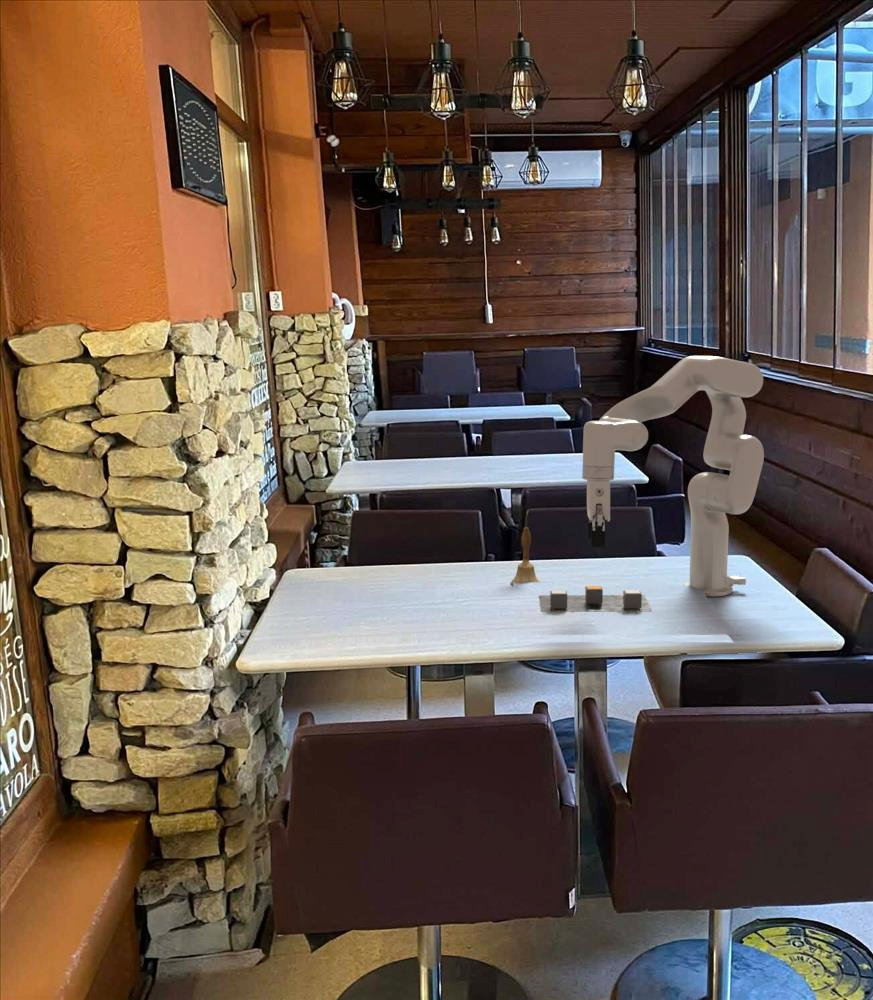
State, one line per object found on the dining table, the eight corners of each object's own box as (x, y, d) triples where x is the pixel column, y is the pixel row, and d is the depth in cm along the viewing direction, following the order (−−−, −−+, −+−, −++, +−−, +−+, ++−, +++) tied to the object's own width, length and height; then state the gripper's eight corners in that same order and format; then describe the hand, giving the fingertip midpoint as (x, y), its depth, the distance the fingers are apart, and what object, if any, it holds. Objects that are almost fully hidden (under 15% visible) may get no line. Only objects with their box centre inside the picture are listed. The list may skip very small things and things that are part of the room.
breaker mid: (601, 599, 238) (601, 585, 237) (602, 603, 235) (602, 589, 234) (585, 599, 238) (585, 585, 237) (586, 603, 235) (586, 589, 234)
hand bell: (540, 579, 265) (540, 524, 262) (540, 587, 257) (540, 530, 254) (511, 579, 266) (510, 524, 263) (510, 587, 258) (509, 530, 255)
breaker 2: (639, 604, 233) (639, 589, 233) (641, 608, 230) (641, 593, 229) (623, 604, 234) (623, 589, 233) (624, 608, 230) (625, 593, 230)
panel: (644, 600, 243) (644, 594, 242) (652, 617, 229) (652, 611, 229) (538, 601, 245) (538, 595, 244) (540, 617, 231) (540, 611, 231)
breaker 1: (566, 604, 235) (566, 590, 234) (567, 608, 231) (567, 593, 231) (550, 604, 235) (550, 590, 234) (550, 608, 232) (550, 593, 231)
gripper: (617, 478, 217) (615, 550, 220) (610, 468, 234) (608, 535, 237) (585, 477, 217) (583, 550, 220) (580, 467, 234) (578, 535, 237)
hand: (596, 542), depth 228 cm, fingers open, 9 cm apart
